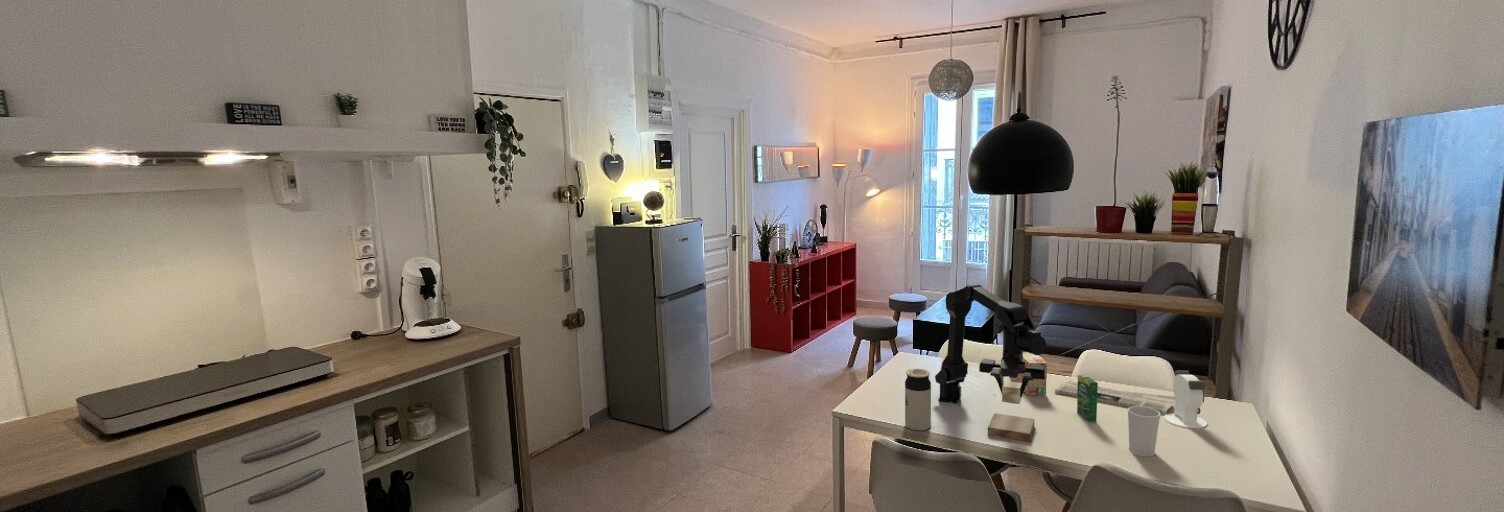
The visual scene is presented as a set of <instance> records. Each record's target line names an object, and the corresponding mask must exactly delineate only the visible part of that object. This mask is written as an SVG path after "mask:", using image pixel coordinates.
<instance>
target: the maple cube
mask: <svg viewBox="0 0 1504 512" xmlns="http://www.w3.org/2000/svg"><path fill="white" fill-rule="evenodd" d="M1021 386H1022V383H1017V382H1015V381H1008V380H1004V384H1003V386H1002V394H1001V402H1002V403H1008V404H1013V405H1014V404H1016V405H1020V403H1021V400H1022V397H1023V396H1022V397H1020V392H1021Z"/></svg>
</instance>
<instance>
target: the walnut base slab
mask: <svg viewBox="0 0 1504 512" xmlns="http://www.w3.org/2000/svg"><path fill="white" fill-rule="evenodd" d="M987 426H988V427H987V436H993V437H998V438H1005V439H1011V440H1018V441H1023V442H1028V443H1030V442H1031V439H1032V435H1033V432H1034V428H1035V418H1029V417H1025V416H1024V417H1023V416H1016V415H1008V414H1002V413H997V412H994V413H993V415H992V417H991V420H990V422H989V423H988V425H987Z"/></svg>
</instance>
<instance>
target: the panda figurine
mask: <svg viewBox="0 0 1504 512" xmlns="http://www.w3.org/2000/svg"><path fill="white" fill-rule="evenodd" d="M1174 376H1175V377H1174V381H1173V395H1174V397H1175V403H1174V412H1171V413H1166V415H1163V419H1164V421H1165V422H1167V423H1168V424H1171V425H1173V426H1177V427H1180V428H1184V429H1192V428H1193V429H1194V430H1195V428H1198V429H1204V428H1206V427H1207V426H1208V422H1207V421H1206V420H1205V419H1204V418H1201V417H1199V416H1198V415H1199V414H1201V407H1202V404H1203V403H1204V402H1205V388H1206V387H1205V386H1206V385H1205V382H1204V381H1203V380H1199V378H1198V377H1196V376H1195V375H1193V374H1190V371H1189V370H1179V369H1178V370H1174ZM1205 426H1206V427H1205ZM1203 427H1204V428H1203Z"/></svg>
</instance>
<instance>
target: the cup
mask: <svg viewBox="0 0 1504 512" xmlns="http://www.w3.org/2000/svg"><path fill="white" fill-rule="evenodd" d="M1160 420H1161V414H1160V412H1159V411H1157V410H1155V409H1152V408H1149V407H1143V406H1133V407H1129V408H1127V421H1128V422H1127V424H1128V450H1129V452H1130V453H1132V454H1133V455H1136V456H1140V457H1153V456H1155V455H1156V453H1155V452H1156V445H1157V439H1158V432H1159V425H1160Z"/></svg>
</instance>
